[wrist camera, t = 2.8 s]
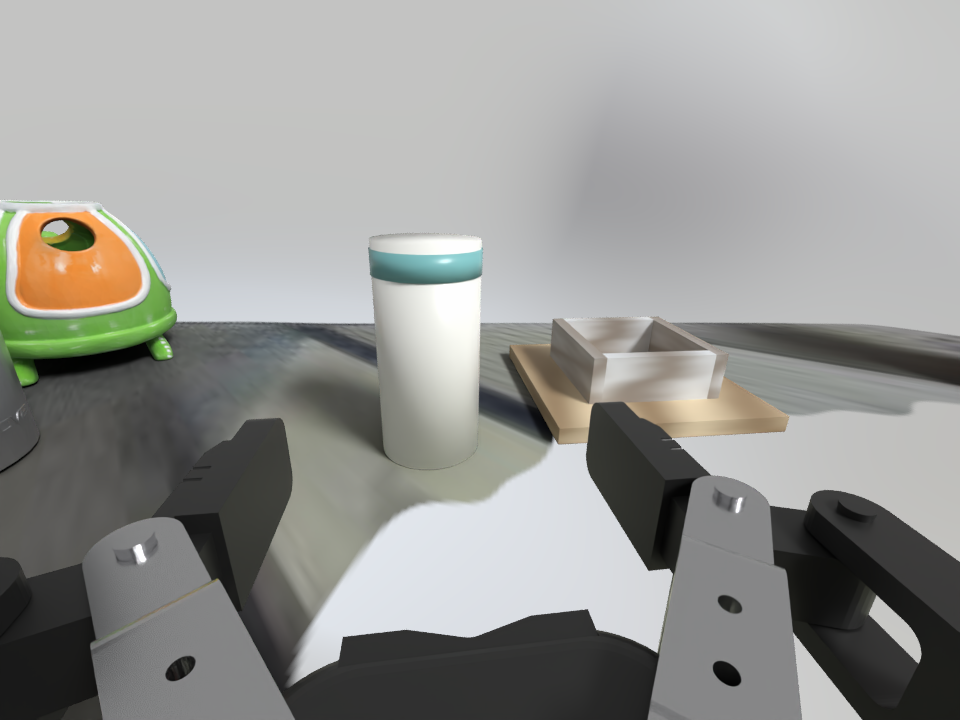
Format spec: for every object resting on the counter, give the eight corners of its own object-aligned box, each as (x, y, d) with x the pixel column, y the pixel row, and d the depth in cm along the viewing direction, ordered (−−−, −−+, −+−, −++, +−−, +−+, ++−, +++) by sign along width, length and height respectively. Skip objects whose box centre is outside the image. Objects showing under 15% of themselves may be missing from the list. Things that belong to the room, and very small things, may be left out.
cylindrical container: (378, 473, 22) (361, 244, 18) (385, 421, 27) (373, 232, 23) (485, 467, 22) (490, 245, 19) (472, 417, 27) (475, 233, 23)
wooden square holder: (558, 444, 25) (564, 378, 23) (509, 356, 38) (511, 310, 36) (784, 431, 26) (803, 369, 25) (663, 351, 39) (671, 307, 38)
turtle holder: (138, 316, 47) (106, 196, 43) (209, 356, 37) (176, 202, 32) (-34, 344, 38) (-96, 196, 34) (-5, 408, 27) (-90, 205, 23)
